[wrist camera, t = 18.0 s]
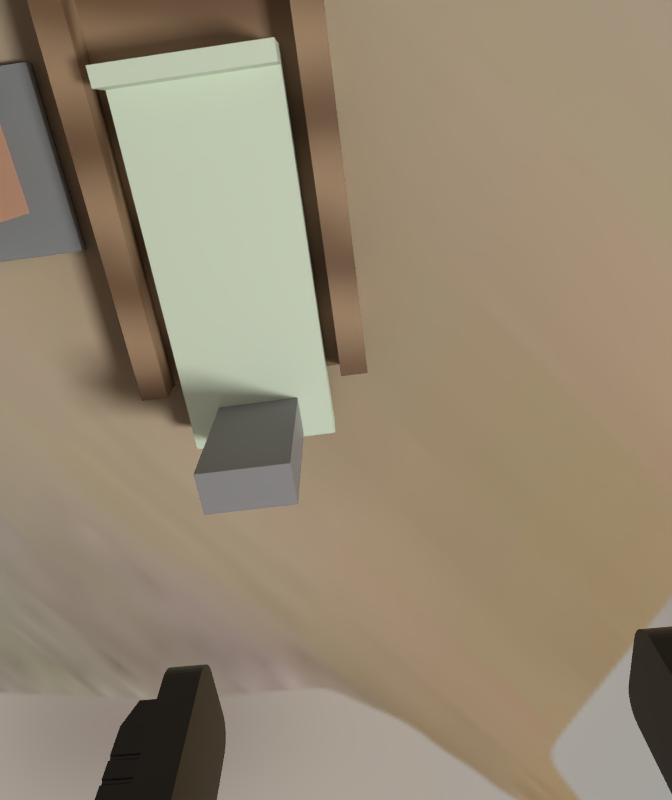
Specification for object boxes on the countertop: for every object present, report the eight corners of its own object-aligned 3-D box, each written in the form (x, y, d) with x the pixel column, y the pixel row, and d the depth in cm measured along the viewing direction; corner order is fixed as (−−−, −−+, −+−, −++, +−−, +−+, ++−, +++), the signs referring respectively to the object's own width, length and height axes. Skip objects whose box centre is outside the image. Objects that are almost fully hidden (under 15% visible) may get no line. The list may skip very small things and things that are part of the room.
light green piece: (108, 70, 32) (29, 54, 24) (279, 44, 32) (260, 19, 23) (201, 438, 41) (168, 522, 33) (335, 422, 41) (336, 503, 33)
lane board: (-8, -212, 29) (-45, -248, 26) (291, -263, 28) (287, -307, 25) (155, 380, 41) (142, 400, 38) (364, 354, 41) (367, 372, 38)
